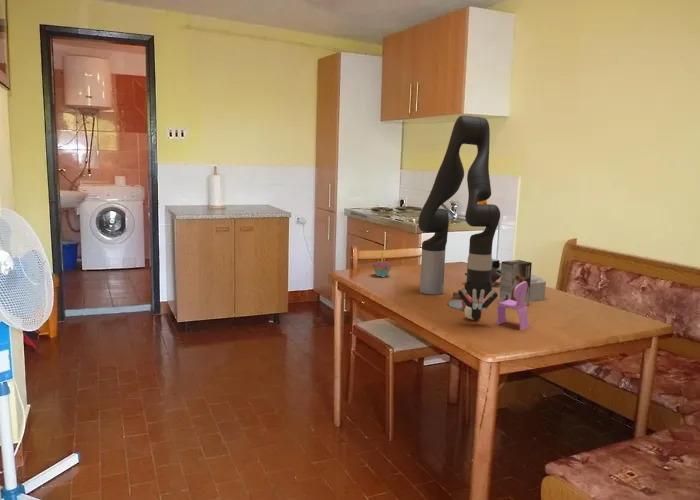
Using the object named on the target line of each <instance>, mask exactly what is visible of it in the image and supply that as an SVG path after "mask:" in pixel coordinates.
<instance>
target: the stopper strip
mask: <svg viewBox="0 0 700 500" xmlns="http://www.w3.org/2000/svg"><path fill="white" fill-rule="evenodd" d="M465 292H466V295H468V293H467V291H465ZM452 299H453V300H462V298H461V297H460V295H459V294H458V291H452ZM476 299H477V301H478V298H476Z"/></svg>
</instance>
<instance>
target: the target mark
mask: <svg viewBox="0 0 700 500" xmlns="http://www.w3.org/2000/svg"><path fill="white" fill-rule="evenodd" d="M477 304H478V300H477ZM447 305H448V306H449V307H450V308H452V309H455V310H460V311H464V310H465V308H464V307H463V306H462V304H461V299H453V300H451V301H449V302H448V303H447ZM486 309H487V308H483V309H482V310H481V311H483V310H486Z"/></svg>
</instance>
